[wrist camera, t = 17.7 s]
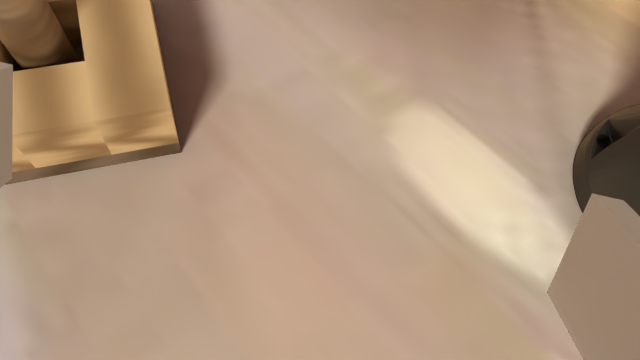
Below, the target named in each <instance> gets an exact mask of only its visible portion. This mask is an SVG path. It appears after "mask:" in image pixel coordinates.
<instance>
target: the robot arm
mask: <svg viewBox="0 0 640 360" xmlns="http://www.w3.org/2000/svg"><path fill="white" fill-rule="evenodd" d="M12 119H13V65H11V64H7V63H2V62H0V188H1V187H2V186H3V185H5V184H6V183H7V182H8V181H10V180H11V179H12ZM573 181H574V189H575V193H576V197H577V200H578V203H579V206H580V208H581V210H582V213H583V214H582V216H581V219H580V221H579V223H578V225H577V227H576V230H575V232H574V234H573V236H572V238H571V241H570V243H569V245H568V247H567V249H566V252H565V254H564V256H563V258H562V261H561V263H560V265H559V267H558V269H557V272H556V274H555V276H554V278H553V280H552V283H551V285H550V287H549V289H548V291H547V293H548V295H549V297H550V298H551V300H552V302H553V304H554V306H555V308H556V309H557V311H558V313H559V315H560V317H561V319H562V321H563V322H564V324H565V326H566V328H567V330H568V332H569V334H570V335H571V337H572V339H573V341H574V343H575V345H576V347H577V348H578V350H579V352H580V354H581V356H582V358H583V360H640V104H638V105H634V106H630V107H627V108H624V109H621V110H619V111H617V112H615V113H613V114H611V115H610V116H608V117H607V118H606V119H604V120H603V121H602V122H600V123H599V124H598V125H596V126H595V127H594V128H593V129H592V130H591V131H590V132H589V133H588V134H587V135H586V136H585V137H584V139H583V140H582V142H581V144H580V146H579V148H578V150H577V153H576V156H575V161H574V168H573Z"/></svg>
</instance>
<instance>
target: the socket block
mask: <svg viewBox="0 0 640 360" xmlns="http://www.w3.org/2000/svg"><path fill="white" fill-rule="evenodd" d="M47 2H48V3H49V5H50V7H51V9H52V11H53V12H54V14H55V16H56V18H57V20H58V21H59V23H60V25H61V27H62V29H63V30H64V32H65V34H66V36H67V38H68V39H69V41H70V43H71V45H72V47H73V48H74V50H75V52H76V54H77V56H78V58H79V59H80V61H81V62H75V63H68V64H61V65H54V66H48V67H41V68H34V69H27V70H22V68H21V67H20V66H19V64H18V63H17V62H16V60H15V59H14V57H13V56H12V55H11V53H10V52H9V51H8V49H7V48H6V47H5V45H4V44H3V43H2V41H1V40H0V62H2V63H7V64H11V65H13V119H12V179H11V180H10V181H8V182H7V183H6V184H11V183H16V182H22V181H27V180H33V179H38V178H44V177H49V176H55V175H60V174H66V173H71V172H76V171H82V170H87V169H93V168H98V167H104V166H109V165H115V164H120V163H126V162H131V161H137V160H142V159H147V158H153V157H158V156H164V155H169V154H175V153H180V152H181V148H180V143H179V138H178V133H177V128H176V123H175V118H174V112H173V107H172V102H171V97H170V92H169V87H168V82H167V77H166V72H165V66H164V61H163V56H162V51H161V46H160V41H159V36H158V31H157V26H156V20H155V15H154V10H153V5H152V0H47Z"/></svg>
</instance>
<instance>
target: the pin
mask: <svg viewBox="0 0 640 360" xmlns="http://www.w3.org/2000/svg"><path fill="white" fill-rule="evenodd" d="M0 40H1V41H2V43H3V44H4V45H5V47H6V48H7V49H8V51H9V52H10V53H11V55H12V56H13V57H14V59H15V60H16V62H17V63H18V64H19V66H20V67H21V68H22V70H27V69H34V68H41V67H48V66H54V65H61V64H68V63H75V62H81V61H80V59H79V58H78V56H77V54H76V52H75V50H74V48H73V47H72V45H71V43H70V41H69V39H68V38H67V36H66V34H65V32H64V30H63V29H62V27H61V25H60V23H59V21H58V20H57V18H56V16H55V14H54V12H53V11H52V9H51V7H50V5H49V3H48V2H47V0H0Z"/></svg>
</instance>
